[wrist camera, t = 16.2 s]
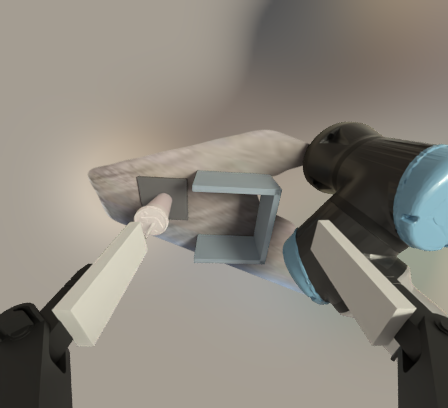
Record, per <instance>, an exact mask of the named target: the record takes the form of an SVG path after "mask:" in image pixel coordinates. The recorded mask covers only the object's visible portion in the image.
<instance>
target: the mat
mask: <svg viewBox="0 0 448 408" xmlns="http://www.w3.org/2000/svg"><path fill="white" fill-rule="evenodd" d="M137 180H138V186H139V191H140V197H141V203H142V207H144V206H146V205H147V204H148V203H149V202H151V201H152V200H153V199H154V198H155V197H156V196H158V195H159V194H161V193H166V194H168V195H170V197H171V198H172V204H171V208H170V213H169V217H168V219H171V220H188V199H187V179H183V178H163V177H144V176H138V177H137Z"/></svg>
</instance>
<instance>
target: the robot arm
mask: <svg viewBox="0 0 448 408" xmlns="http://www.w3.org/2000/svg"><path fill="white" fill-rule="evenodd" d="M303 172H304V175H305V178H306V180H307V181H308V182H309V183H310V184H311V185H312V186H313V187H315V188H316V189H317V190H319V191H321V192H324V193H328V194H334V195H333V196H332V197H331V198H330V199H328V200H327V201H326V202H325V203H324V204H323V205H322V206H321V207H320V208H319V209H318V210H317V211H316V212H315V213H314V214H313V215H312V216H311V217H310V218H308V219H307V220H306V221H305V222H304V223H303V224H302V225H301V226H300V227H299V228H296V229H295V231H294V233H293V234H292V235H291V236H290V237H289V238H288V239H287V240H286V242H285V243H284V246H283V256H284V261H285V264H286V266H287V269H288V271H289V273H290V274H291V276H292V278H293V279H294V281H295V282H296V284H297V285H298V287H299V288H300V289H301V290H302V291H303V292H304V293H305V294H306V295H307V296H308V297H310V298H311V299H312V301H314V302H316V303H317V304H322V305H324V304H329V303H331V304H332V305H333V306H334V307H335V309H336V310H337V311H338V312H339V313H340V314H341V315H343V316H347V317H352V318H355V320H356V321H357V323H358V324H359V326H360V327H361V329H362V331H363V332H364V334H365V335H366V337H367V338H368V340H369V342H370V343H371V345H383V346H384V348H385V349H386V350H387V351H388V352H389V353H390V354H391V355H392V357H391V360H392V361H395V360H396V361H397V362H398V408H448V314H447V313H445V312H444V311H443V310H442V309H441V308H440V307H438V306H437V305H436V304H435V303H434V302H432V301H431V300H430V299H429V298H428V297H426V296H425V295H424V294H423V293H422V292H420V291H419V290H418V289H417V288H415V287H414V285H413V284H412V281H411V273H410V267H409V266H408V265H406V264H405V263H404V262H402V261H401V260H400V259H399V258H397V255H398V254H399V253H401V252H402V251H404V250H405V249H407V248H408V247H413V248H417V249H420V250H424V251H436V250H441V249H442V248H443V247H448V145H443V144H440V145H435V144H428V143H421V142H415V141H408V140H401V139H395V138H387V137H383V136H382V135H381V134H379V133H378V132H377V131H375V130H374V129H373V128H371V127H370V126H368V125H366V124H363V123H358V122H341V123H338V124H335V125H332V126H330V127H328V128H326V129H325V130H323V131H322V132H321V133H320V134H319V135H318V136H316V138H315V139H314V140H313V141H312V142H311V144H310V145H309V147H308V149H307V151H306V153H305V156H304V160H303ZM147 251H148V249H147V245H146V242H145V238H144V234H143V230H142V226H141V223H140V222H129V224H128V225H127V226H126V227H125V228H124V229H123V230H122V232H121V233H120V234H119V235H118V236H117V237H116V238H115V239H114V241H113V242H112V243H111V244H110V245H109V246H108V247H107V249H106V250H105V251H104V252H103V253H102V254H101V255H100V256H99V258H98V259H97V260H96V261H95V262H94V263H93V264H87V265H86V266H84V267H83V268H82V269H80V270H79V271H77V273H76V274H75V275H74V276H73V277H72V278H71V280H69V281H68V282H67V283H66V284H65V285H64V287H63V288H61V290H60V291H59V292H58V293H57V294H56V295H55V296H54V297H53V298H52V299H51V300H50V301H49V302H48V303H47V304H46V306H45V307H44V308H43V309H42V310H41V311H40V312H39V310H38V309H37V308H36V306H35V305H34V304H32V303H23V304H19V305H16V306H14V307H12V308H10V309H8V310H6V311H4V312H3V313H2V314H0V408H72V392H71V371H70V370H71V369H70V352H69V349H68V346H69V345H70V343H71V342H72V340H74V342H75V343H76V345H77V346H94V345H95V343H96V341H97V340H98V338H99V336H100V334H101V333H102V331H103V329H104V328H105V326H106V324H107V322H108V320H109V319H110V317H111V315H112V313H113V311H114V310H115V308H116V306H117V304H118V303H119V301H120V299H121V297H122V296H123V294H124V292H125V290H126V289H127V287H128V285H129V283H130V282H131V280H132V278H133V276H134V274H135V272H136V271H137V269H138V267H139V266H140V264H141V262H142V260H143V259H144V257H145V255H146V253H147Z"/></svg>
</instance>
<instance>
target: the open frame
mask: <svg viewBox="0 0 448 408" xmlns="http://www.w3.org/2000/svg"><path fill="white" fill-rule="evenodd" d="M192 191H195V192H216V193H237V194H258V195H261V198H260V203H259V209H258V214H257V220H256V226H255V231H254V236H230V235H202V234H198V237H197V243H196V249H195V255H194V263H230V264H265V260H266V256H267V252H268V248H269V243H270V239H271V235H272V230H273V226H274V222H275V218H276V213H277V209H278V205H279V201H280V196H281V192H282V189H281V188H280V187H279V186H278V184H277V183H276V182H275V180H274V179H273V178H272V177H271V175H270V174H254V173H235V172H217V171H197V174H196V176H195V179H194V182H193V185H192Z"/></svg>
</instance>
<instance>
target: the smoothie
mask: <svg viewBox="0 0 448 408" xmlns="http://www.w3.org/2000/svg"><path fill="white" fill-rule="evenodd" d="M171 204H172V198H171V197H170V195H168V194H166V193H161V194H159V195H158V196H156V197H155V198H154V199H153V200H152V201H151V202H149V203H148V204H147V205H146V206H144V207H142V208H140V209H139V210H138V211H137V212H136V214H135V216H134V222H140V223H141V226H142V230H143V233H145V236H144V238H145V239H147V237H148V235H159V234H161V233H163V232H164V231H165V230H166V228H167V226H168V223H169V221H168V217H169V213H170V208H171Z"/></svg>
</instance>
